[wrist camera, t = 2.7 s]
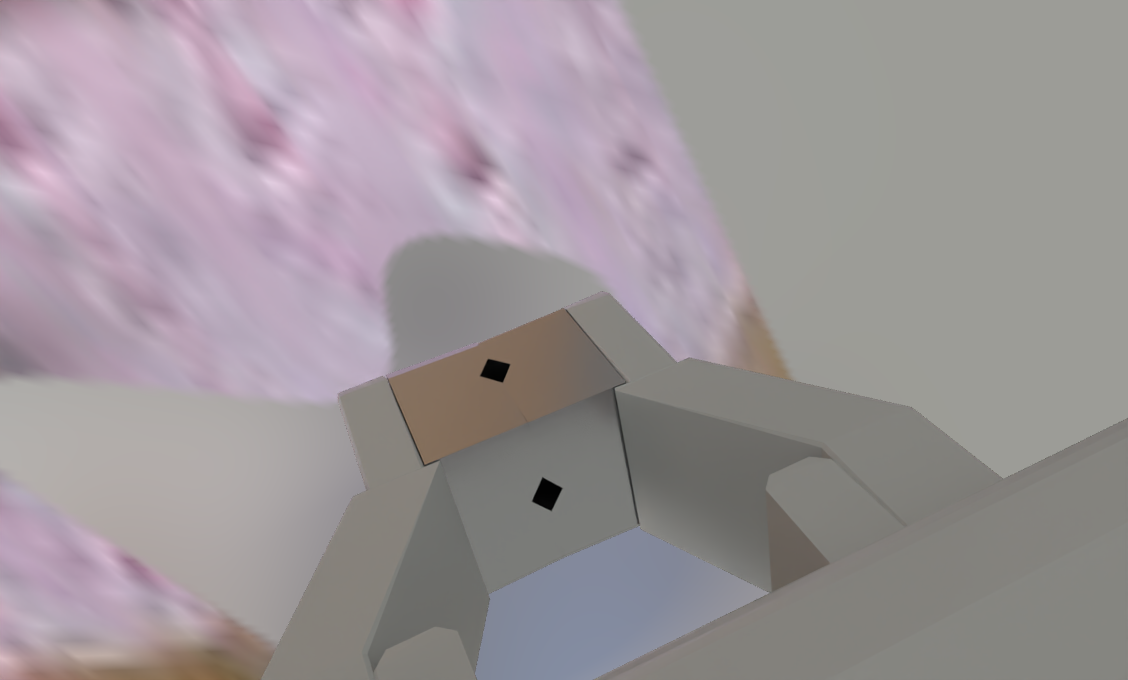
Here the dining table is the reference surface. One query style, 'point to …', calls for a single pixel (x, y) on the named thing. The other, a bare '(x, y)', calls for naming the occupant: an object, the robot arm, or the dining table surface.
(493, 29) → the dining table surface
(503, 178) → the dining table surface
